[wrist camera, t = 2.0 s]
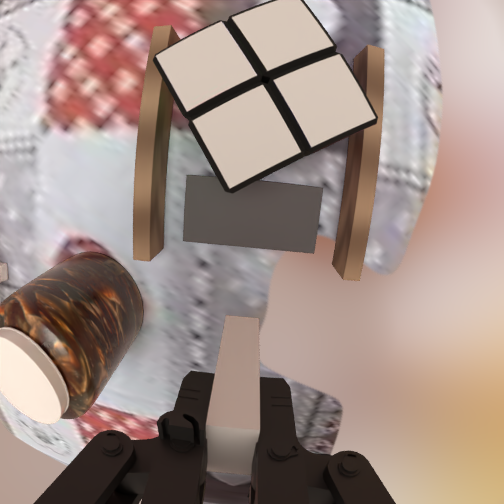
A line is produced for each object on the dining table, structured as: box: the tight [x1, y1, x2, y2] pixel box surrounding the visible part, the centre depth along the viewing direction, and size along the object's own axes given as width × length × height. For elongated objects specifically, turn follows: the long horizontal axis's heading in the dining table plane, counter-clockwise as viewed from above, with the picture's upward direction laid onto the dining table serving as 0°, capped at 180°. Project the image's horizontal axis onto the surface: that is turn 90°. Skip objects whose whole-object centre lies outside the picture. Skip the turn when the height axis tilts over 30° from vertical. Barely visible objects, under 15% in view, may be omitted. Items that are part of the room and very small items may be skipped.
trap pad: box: [183, 175, 323, 254], centre depth 27 cm, size 6×12×1 cm, turn 85°
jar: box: [0, 252, 143, 424], centre depth 23 cm, size 12×12×15 cm
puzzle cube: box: [153, 0, 378, 194], centre depth 19 cm, size 10×10×10 cm
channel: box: [133, 25, 384, 281], centre depth 23 cm, size 20×19×4 cm
